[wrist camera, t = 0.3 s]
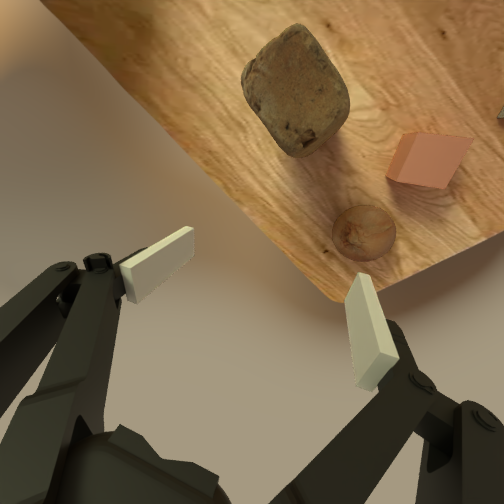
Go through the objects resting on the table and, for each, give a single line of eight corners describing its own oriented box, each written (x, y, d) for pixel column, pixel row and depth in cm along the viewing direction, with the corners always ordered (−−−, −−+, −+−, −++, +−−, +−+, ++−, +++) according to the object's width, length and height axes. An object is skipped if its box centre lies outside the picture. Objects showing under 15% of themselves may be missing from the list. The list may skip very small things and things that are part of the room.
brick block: (402, 134, 31) (418, 132, 26) (448, 139, 29) (474, 138, 24) (385, 175, 34) (396, 181, 28) (426, 182, 32) (445, 189, 27)
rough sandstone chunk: (344, 126, 32) (367, 105, 15) (304, 159, 36) (287, 172, 19) (305, 63, 30) (282, -42, 13) (267, 105, 34) (211, 65, 17)
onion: (336, 218, 42) (312, 225, 35) (385, 192, 35) (368, 195, 28) (357, 260, 41) (337, 276, 34) (411, 242, 34) (401, 258, 27)
